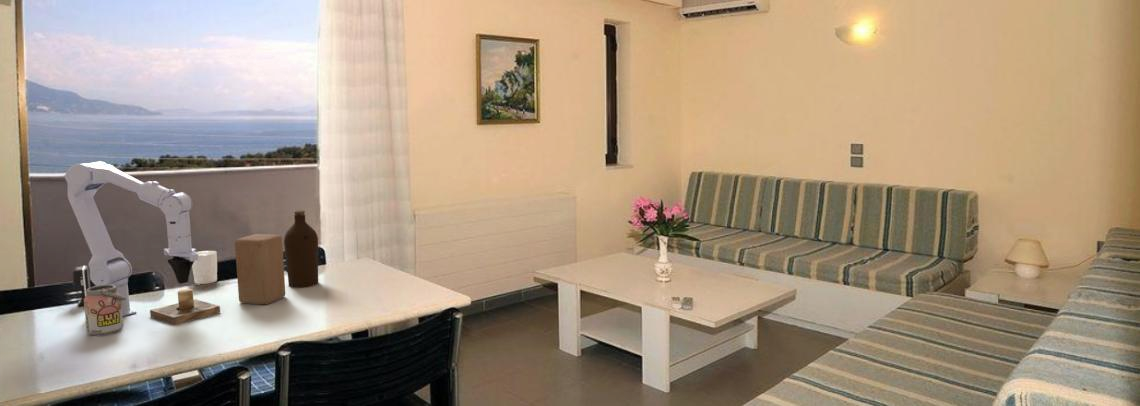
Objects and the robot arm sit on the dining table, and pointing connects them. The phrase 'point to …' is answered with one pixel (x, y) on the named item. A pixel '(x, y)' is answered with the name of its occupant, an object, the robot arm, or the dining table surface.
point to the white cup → (205, 267)
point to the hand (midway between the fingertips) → (183, 282)
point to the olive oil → (301, 253)
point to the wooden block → (260, 268)
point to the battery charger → (81, 281)
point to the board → (184, 312)
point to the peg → (185, 299)
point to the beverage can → (103, 310)
